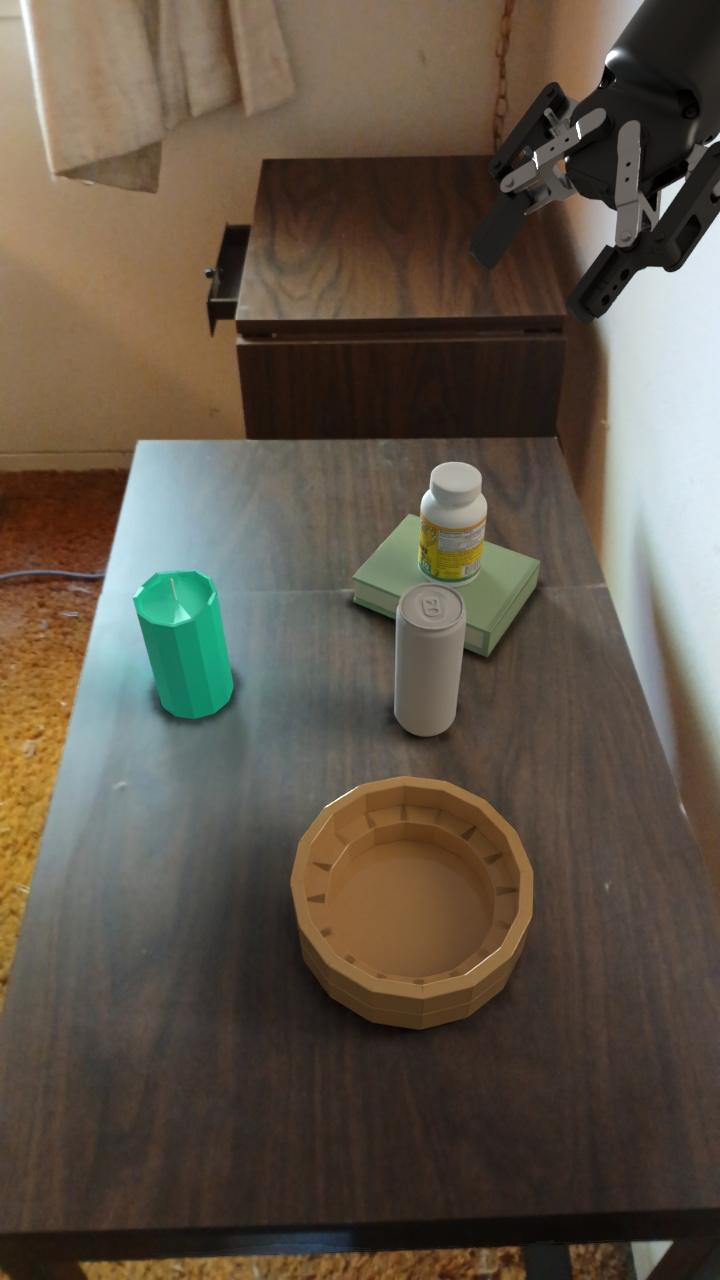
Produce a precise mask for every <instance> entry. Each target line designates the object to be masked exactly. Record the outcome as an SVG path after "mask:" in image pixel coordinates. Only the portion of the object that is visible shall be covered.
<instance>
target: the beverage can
mask: <svg viewBox="0 0 720 1280" xmlns="http://www.w3.org/2000/svg"><path fill="white" fill-rule="evenodd" d="M465 627H466V610H465V602H464V600H463V597H462V596H461V595H460V594H459V593H458V592H457V591H456V590H454V589H453V588H451V587H449V586H446V585H443V584H439V583H422V584H418V585H415V586H412V587H411V588H409V589H408V590H406V591H405V592H404V593H403V594H402V595H401V598H400V600H399V605H398V607H397V613H396V619H395V656H394V657H395V660H394V661H395V663H394V664H395V666H394V705H393V706H394V707H393V714H394V716H395V719H396V721H397V723H399V724H400V726H401V727H402V728H403V729H404V730H405V731H407V732H408V733H410V734H412V735H413V736H414V735H415V736H418V737H427V738H428V737H434V736H437V735H439V734H442V733H444V732H445V731H447V730H448V729H449V728H450V727H451V726H452V724H453V723H454V720H455V718H456V715H457V705H458V697H459V696H458V695H459V688H460V682H461V681H460V680H461V672H462V663H463V655H464V648H463V646H464V637H465Z"/></svg>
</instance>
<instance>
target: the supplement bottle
mask: <svg viewBox="0 0 720 1280" xmlns="http://www.w3.org/2000/svg"><path fill="white" fill-rule="evenodd" d="M482 481H483V478H482V474H481V472H480V470H479V469H477V467H475V466H474V465H472V464H469V463H466V462H460V461H448V462H444V463H440V464H439V465H437V466H435V467H434V468H433V469H432V471H431V473H430V480H429V482H430V483H429V489H428V490H427V491H426V492H425V493H424V495H423V496H422V499H421V502H420V514H419V517H420V534H419V556H418V566H419V570H420V572H421V574H422V575H423V576H424V577H425V578H426V579H427V580H428V581H430V582H431V583H439V584H443V585H446V586H449V587H451V588H453V587H461V586H464V585H466V584H469V583H470V582H472V581H473V580H474V579H475V578H476V577H477V576H478V574H479V572H480V569H481V562H482V552H483V542H484V541H485V535H486V524H487V517H488V516H487V515H488V502H487V500H486V498H485V495H484V494H483V493H482Z"/></svg>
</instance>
